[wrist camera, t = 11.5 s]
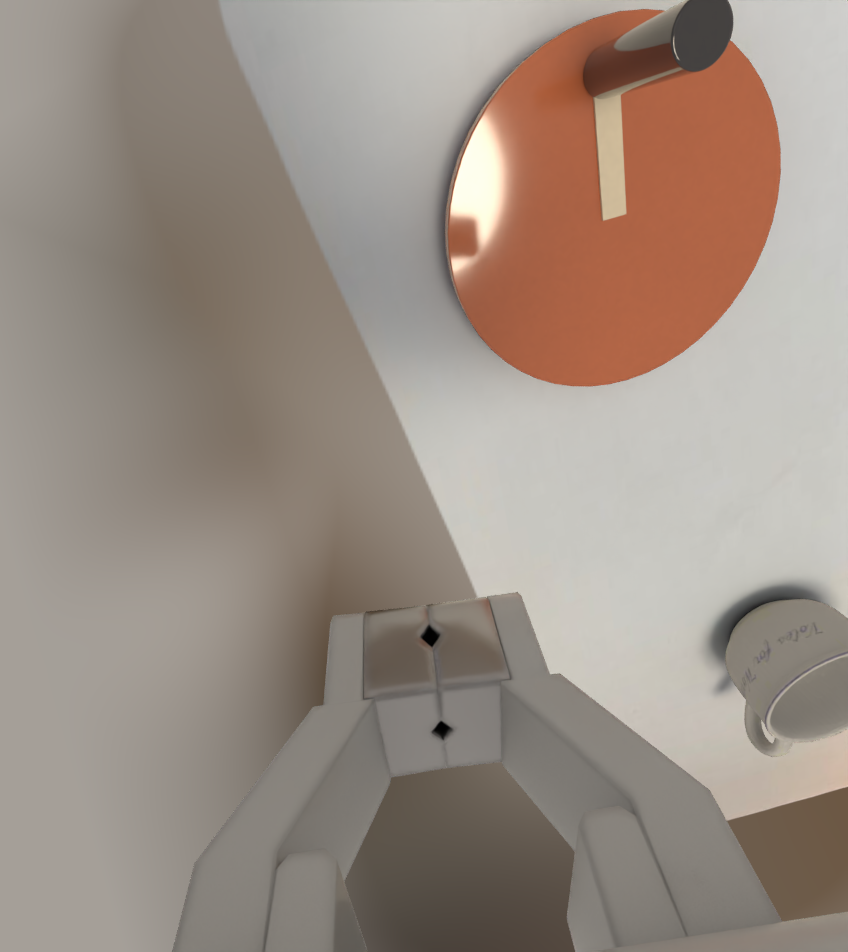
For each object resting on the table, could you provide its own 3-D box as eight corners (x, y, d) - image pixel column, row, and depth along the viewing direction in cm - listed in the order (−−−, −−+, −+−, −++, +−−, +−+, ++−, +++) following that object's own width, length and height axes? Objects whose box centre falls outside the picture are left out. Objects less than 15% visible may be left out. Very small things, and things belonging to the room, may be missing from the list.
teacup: (766, 565, 44) (840, 640, 37) (854, 598, 47) (939, 673, 40) (663, 674, 50) (711, 756, 43) (748, 697, 53) (806, 777, 46)
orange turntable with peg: (376, 233, 27) (380, 259, 19) (648, -96, 22) (809, -248, 14) (576, 432, 34) (640, 512, 26) (820, 218, 29) (993, 236, 21)
